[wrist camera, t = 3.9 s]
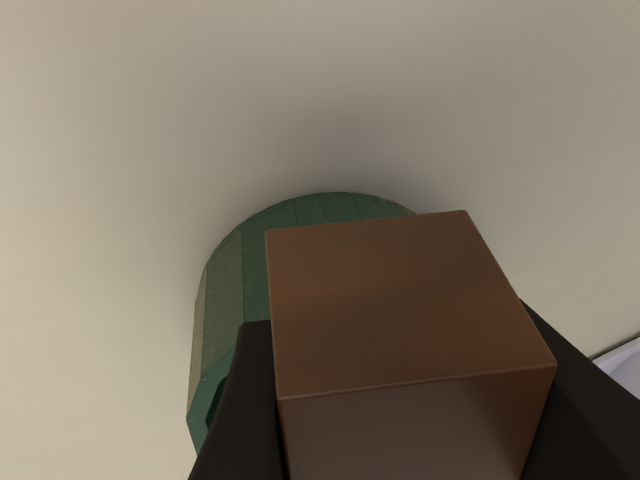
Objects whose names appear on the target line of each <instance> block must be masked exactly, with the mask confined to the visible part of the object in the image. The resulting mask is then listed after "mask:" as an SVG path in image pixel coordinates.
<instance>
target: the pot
mask: <svg viewBox="0 0 640 480" xmlns="http://www.w3.org/2000/svg"><path fill="white" fill-rule="evenodd" d="M408 215H416V214H415V213H413V212H412V211H410V210H409V209H407V208H405V207H403V206H401V205H399V204H396V203H394V202H392V201H389V200H386V199H383V198H380V197H376V196H371V195H365V194H360V193H347V192H333V193H319V194H313V195H307V196H302V197H298V198H294V199H291V200H287V201H284V202H282V203H279V204H277V205H274V206H272V207H269V208H267V209H265V210H263V211H261V212H259V213H258V214H256V215H254V216H252V217H251V218H249V219H248V220H246V221H245V222H244V223H242V224H241V225H239V226H238V227H237V228H236V229H235V230H233V231H232V232H231V233H230V234H229V235H228V236H227V237H226V238H225V239H224V240H223V241H222V243H221V244H220V245H219V246H218V247H217V249H216V250H215V251H214V253H213V254H212V256H211V258H210V259H209V261H208V263H207V265H206V267H205V270H204V272H203V275H202V278H201V282H200V287H199V293H198V296H197V299H196V302H195V315H194V327H193V339H192V352H191V364H190V377H189V389H188V401H187V414H186V422H187V425H188V428H189V431H190V435H191V438H192V441H193V444H194V447H195V451H196V454H197V456H198V454H199V452H200V450H201V447H202V445H203V443H204V440H205V438H206V435H207V433H208V431H209V428H210V425H211V423H212V420H213V417H214V415H215V412H216V409H217V406H218V403H219V400H220V398H221V395H222V392H223V389H224V386H225V383H226V379H227V376H228V373H229V369H230V366H231V362H232V359H233V355H234V351H235V346H236V341H237V335H238V328H239V327H240V326H241V325H242V324H243V323H244V322H252V321H261V320H270V319H271V314H270V300H269V286H268V272H267V258H266V244H265V231H266V230H270V229H280V228H290V227H300V226H310V225H319V224H329V223H339V222H349V221H359V220H369V219H379V218H388V217H398V216H408Z"/></svg>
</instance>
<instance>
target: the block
mask: <svg viewBox="0 0 640 480" xmlns="http://www.w3.org/2000/svg"><path fill="white" fill-rule="evenodd" d="M265 244H266V258H267V272H268V286H269V300H270V314H271V328H272V342H273V355H274V369H275V383H276V397H277V405H278V413H279V420H280V428H281V435H282V442H283V450H284V457H285V465H286V472H287V479H288V480H520V478H521V475H522V472H523V469H524V466H525V463H526V460H527V457H528V454H529V451H530V448H531V445H532V442H533V439H534V436H535V433H536V430H537V427H538V424H539V421H540V418H541V415H542V412H543V409H544V406H545V403H546V400H547V397H548V394H549V391H550V388H551V385H552V382H553V379H554V376H555V373H556V370H557V367H558V364H557V361H556V359H555V358H554V356H553V354H552V353H551V351H550V349H549V348H548V346H547V344H546V343H545V341H544V339H543V338H542V336H541V334H540V333H539V331H538V329H537V328H536V326H535V324H534V323H533V321H532V319H531V318H530V316H529V314H528V313H527V311H526V309H525V308H524V306H523V304H522V303H521V301H520V299H519V298H518V296H517V294H516V293H515V291H514V290H513V288H512V286H511V285H510V283H509V281H508V280H507V278H506V276H505V275H504V273H503V271H502V270H501V268H500V266H499V265H498V263H497V261H496V260H495V258H494V256H493V255H492V253H491V251H490V250H489V248H488V246H487V245H486V243H485V241H484V240H483V238H482V236H481V235H480V233H479V231H478V230H477V228H476V226H475V225H474V223H473V221H472V220H471V218H470V216H469V215H468V213H467V211H465V210H457V211H448V212H438V213H428V214H418V215H408V216H398V217H388V218H379V219H369V220H359V221H349V222H339V223H329V224H319V225H310V226H300V227H290V228H280V229H270V230H266V231H265Z"/></svg>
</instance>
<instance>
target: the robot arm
mask: <svg viewBox="0 0 640 480" xmlns="http://www.w3.org/2000/svg"><path fill="white" fill-rule="evenodd" d="M518 298H519V297H518ZM519 299H520V298H519ZM520 301H521V303H522V304H523V306H524V308H525V309H526V311H527V313H528V314H529V316H530V318H531V319H532V321H533V323H534V324H535V326H536V328H537V329H538V331H539V333H540V334H541V336H542V338H543V339H544V341H545V343H546V344H547V346H548V348H549V349H550V351H551V353H552V354H553V356H554V358H555V359H556V361H557V364H558V367H557V370H556V373H555V376H554V379H553V382H552V385H551V388H550V391H549V394H548V397H547V400H546V403H545V406H544V409H543V412H542V415H541V418H540V421H539V424H538V427H537V430H536V433H535V436H534V439H533V442H532V445H531V448H530V451H529V454H528V457H527V460H526V463H525V466H524V469H523V472H522V475H521V478H520V480H640V337H638V338H636V339H634V340H632V341H630V342H628V343H626V344H624V345H622V346H620V347H618V348H616V349H614V350H612V351H610V352H608V353H606V354H604V355H602V356H600V357H598V358H596V359H594V360H592V361H591V360H589V359H588V358H587V357H586V356H585V355H583V354H582V353H581V352H580V351H579V350H578V349H576V348H575V347H574V346H573V345H572V344H571V343H570V342H568V341H567V340H566V339H565V338H564V337H563V336H562V335H560V334H559V333H558V332H557V331H556V330H555V329H554V328H552V327H551V326H550V325H549V324H548V323H547V322H546V321H545V320H543V319H542V318H541V317H540V316H539V315H538V314H537V313H536V312H534V311H533V310H532V309H531V308H530V307H529V306H528V305H527V304H525V303H524V302H523V301H522V300H521V299H520ZM188 480H288V479H287V472H286V465H285V457H284V450H283V442H282V435H281V428H280V420H279V413H278V405H277V397H276V383H275V369H274V355H273V342H272V328H271V319H270V320H261V321H252V322H244V323H243V324H242V325H241V326H240V327H239V328H238V335H237V341H236V346H235V351H234V355H233V359H232V362H231V366H230V369H229V373H228V376H227V379H226V383H225V386H224V389H223V392H222V395H221V398H220V400H219V403H218V406H217V409H216V412H215V415H214V417H213V420H212V423H211V425H210V428H209V431H208V433H207V435H206V438H205V440H204V443H203V445H202V447H201V450H200V452H199V454H198V457H197V459H196V462H195V464H194V466H193V469H192V471H191V473H190V475H189V478H188Z"/></svg>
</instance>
